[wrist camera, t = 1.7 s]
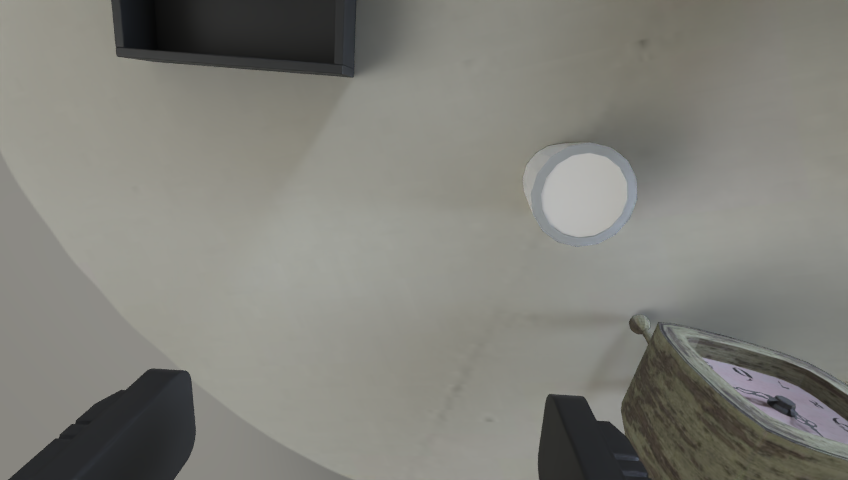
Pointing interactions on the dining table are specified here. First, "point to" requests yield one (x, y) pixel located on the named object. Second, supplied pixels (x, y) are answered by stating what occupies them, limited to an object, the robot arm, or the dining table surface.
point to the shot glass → (580, 192)
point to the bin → (240, 34)
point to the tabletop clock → (732, 410)
